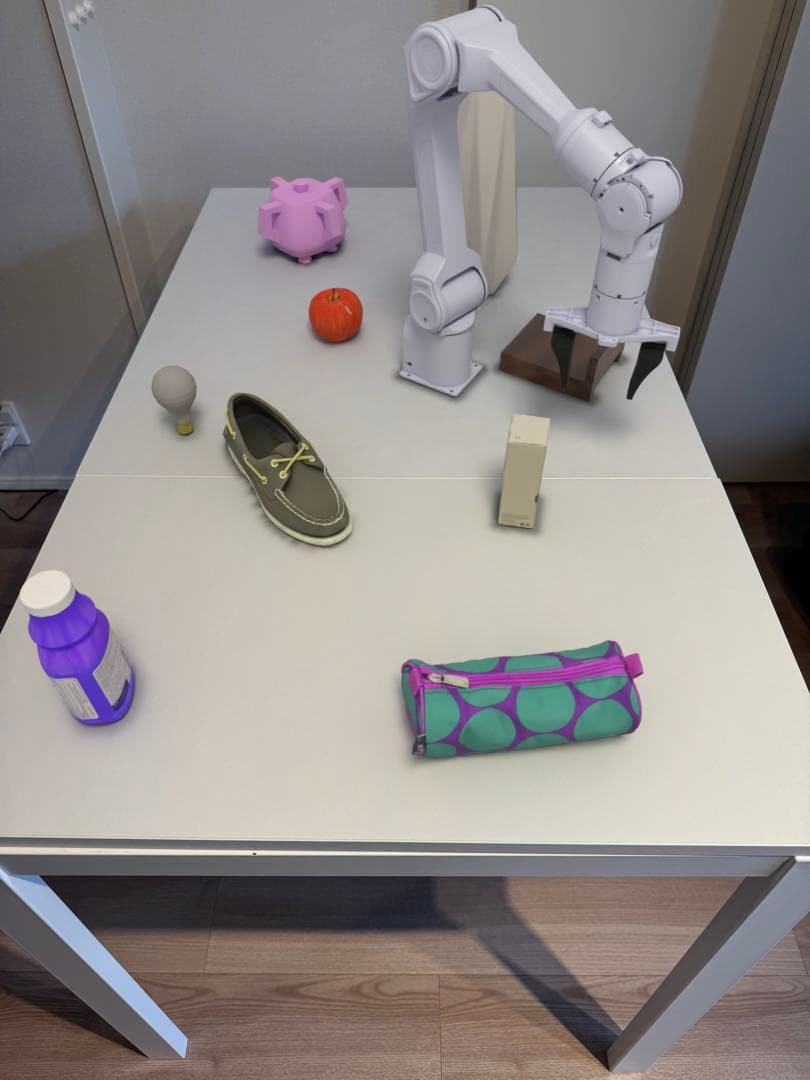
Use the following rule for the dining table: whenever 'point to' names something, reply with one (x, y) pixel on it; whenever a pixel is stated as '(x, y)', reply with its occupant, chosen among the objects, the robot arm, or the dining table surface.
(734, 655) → the dining table surface
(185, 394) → the light bulb
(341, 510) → the boat shoe
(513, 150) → the vase
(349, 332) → the apple
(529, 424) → the box
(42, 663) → the bottle
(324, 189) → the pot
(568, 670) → the pencil case
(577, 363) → the shelf
